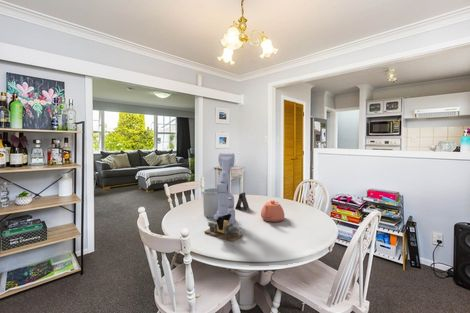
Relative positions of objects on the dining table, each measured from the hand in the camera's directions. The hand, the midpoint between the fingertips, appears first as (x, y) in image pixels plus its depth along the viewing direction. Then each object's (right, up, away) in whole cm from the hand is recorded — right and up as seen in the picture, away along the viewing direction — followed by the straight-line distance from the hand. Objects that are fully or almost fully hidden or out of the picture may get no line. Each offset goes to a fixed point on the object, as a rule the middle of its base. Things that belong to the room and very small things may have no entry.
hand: (223, 228), depth 128 cm
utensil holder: (-9, -1, +35) cm, 36 cm away
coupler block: (0, -2, 0) cm, 2 cm away
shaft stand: (0, -4, 0) cm, 4 cm away
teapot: (+31, -2, +25) cm, 40 cm away
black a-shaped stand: (+12, 0, +48) cm, 50 cm away
